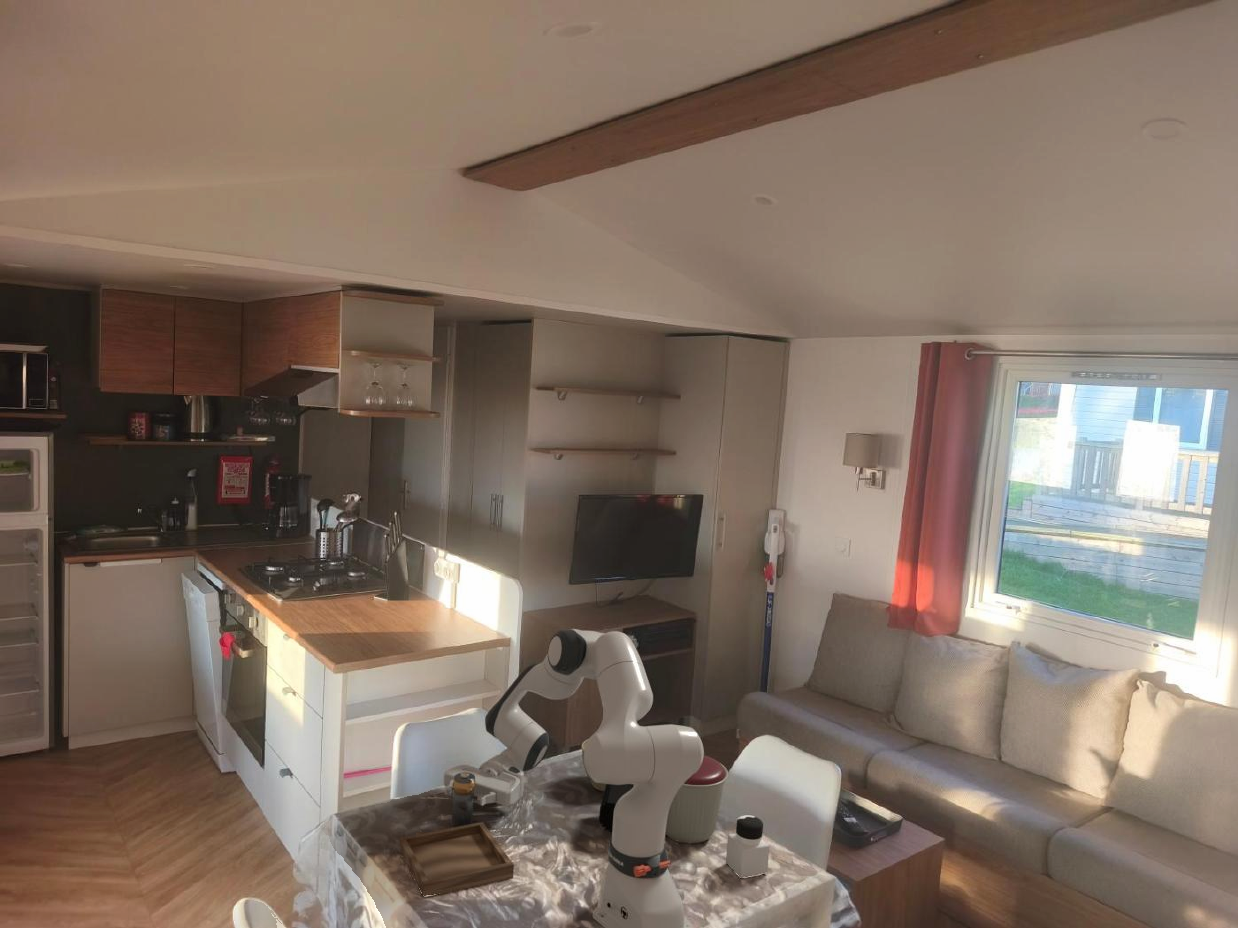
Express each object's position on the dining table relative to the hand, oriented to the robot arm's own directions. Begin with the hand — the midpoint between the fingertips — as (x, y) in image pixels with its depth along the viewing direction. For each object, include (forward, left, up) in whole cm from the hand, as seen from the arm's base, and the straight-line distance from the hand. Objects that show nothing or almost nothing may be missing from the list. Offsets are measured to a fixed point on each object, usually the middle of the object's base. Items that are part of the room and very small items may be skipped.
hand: (463, 796), depth 209 cm
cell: (0, 0, -7) cm, 7 cm away
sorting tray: (-16, +7, -7) cm, 19 cm away
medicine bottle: (-43, -54, -7) cm, 69 cm away
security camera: (-14, -35, -7) cm, 39 cm away
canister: (-24, -50, -7) cm, 56 cm away
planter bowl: (+6, -44, -7) cm, 45 cm away
